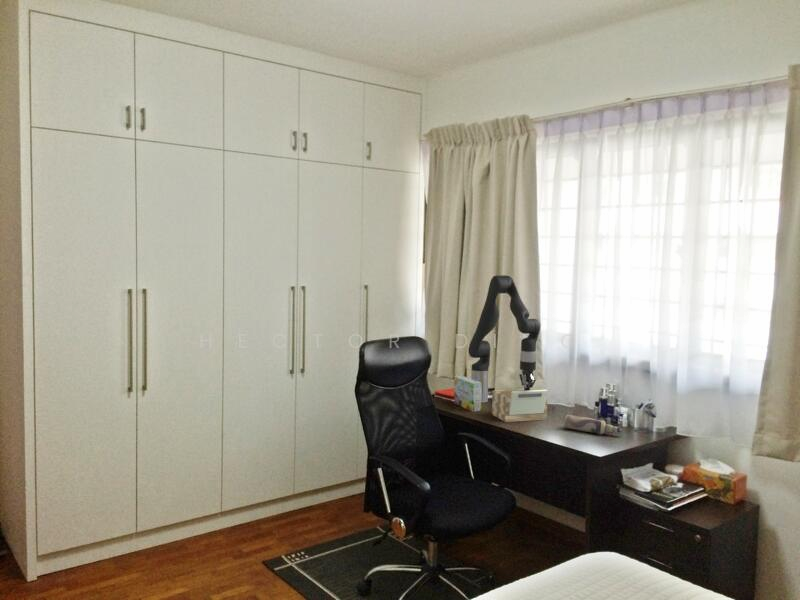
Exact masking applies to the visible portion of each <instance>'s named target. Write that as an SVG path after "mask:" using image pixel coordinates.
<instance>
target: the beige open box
mask: <svg viewBox="0 0 800 600" xmlns="http://www.w3.org/2000/svg"><path fill="white" fill-rule="evenodd" d="M530 390H535V389H534V388H530ZM512 391H524V388H523V389H500V390H497V389H496V390H492V391H491V392H492V393H491V395H492V397H491V415H492V416H494V417H496V418H497V419H500V420H501V421H503V422H504V423H511V422H527V421H528V422H529V421H542V420H543V421H544V420H548V419H547V418H548V396H547V397H546V403H545V409H544V413H536V414H519V415H509V414H508V411H509V404H510V398H511V392H512Z"/></svg>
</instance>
